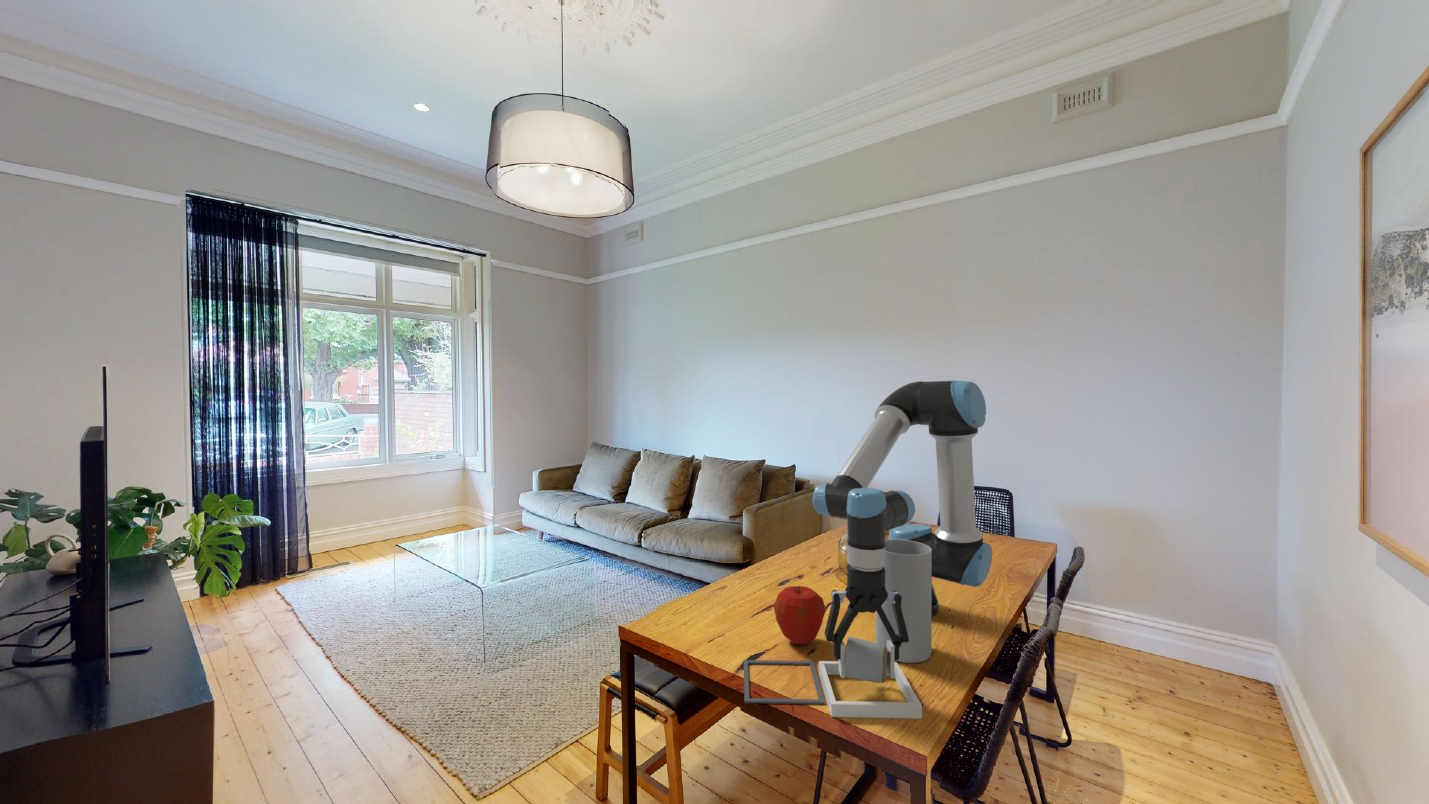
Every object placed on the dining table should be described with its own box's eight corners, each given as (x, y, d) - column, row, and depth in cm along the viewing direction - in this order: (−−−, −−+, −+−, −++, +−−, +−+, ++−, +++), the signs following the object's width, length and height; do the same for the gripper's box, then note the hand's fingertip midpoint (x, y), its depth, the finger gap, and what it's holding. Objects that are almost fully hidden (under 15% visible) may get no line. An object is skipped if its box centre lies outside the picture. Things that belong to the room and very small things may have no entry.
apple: (765, 644, 130) (765, 587, 130) (789, 626, 139) (789, 573, 139) (811, 659, 122) (810, 599, 122) (833, 639, 132) (833, 583, 132)
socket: (893, 668, 118) (893, 657, 118) (922, 718, 100) (922, 705, 100) (817, 667, 119) (817, 656, 119) (831, 717, 101) (831, 704, 101)
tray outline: (813, 662, 121) (813, 661, 121) (825, 704, 105) (825, 702, 105) (743, 661, 121) (743, 660, 121) (744, 703, 106) (744, 701, 106)
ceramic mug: (886, 691, 103) (887, 652, 103) (843, 684, 106) (844, 645, 106) (888, 666, 113) (888, 630, 113) (849, 659, 116) (849, 624, 116)
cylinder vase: (869, 638, 132) (869, 539, 132) (920, 639, 132) (920, 539, 131) (884, 664, 120) (884, 555, 119) (939, 665, 119) (940, 555, 119)
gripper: (914, 560, 111) (914, 665, 112) (809, 559, 112) (809, 664, 113) (927, 572, 104) (926, 685, 104) (814, 571, 105) (815, 683, 105)
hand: (866, 674), depth 108 cm, fingers closed on ceramic mug, 9 cm apart
